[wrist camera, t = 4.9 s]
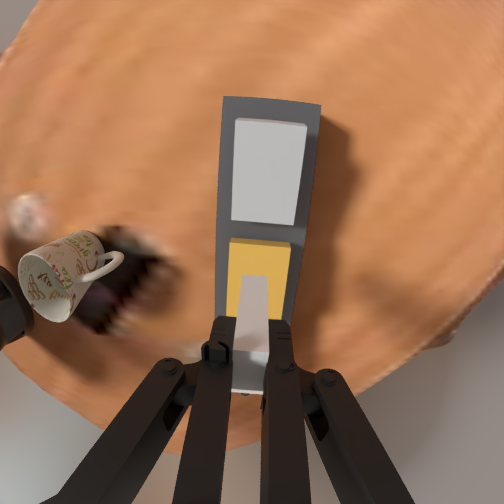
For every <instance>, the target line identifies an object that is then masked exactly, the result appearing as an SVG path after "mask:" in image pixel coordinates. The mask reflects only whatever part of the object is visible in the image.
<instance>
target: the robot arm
mask: <svg viewBox="0 0 504 504" xmlns="http://www.w3.org/2000/svg"><path fill="white" fill-rule="evenodd" d="M32 327H33V314H32V311H31V308H30V305H29V303H28V300H27V298H26V297H25V295H24V293H23V291H22V289H21V288H20V286H19V285H18V283H17V282H16V280H15V279H14V278H13V277H12V275H11V274H10V273H9V272H8V271H7V270H5V269H4V268H3V267H1V266H0V351H1V349H2V348H3V347H4V346H6V345H8V344H10V343H12V342H14V341H16V340H18V339H20V338H22V337H24V336H25V335H27V333H28V332H29V331H30V330H31V329H32ZM201 353H202V360H200V361H198V362H196V363H192V364H184V365H183V364H182V362H181V361H179V360H177V359H175V358H164V359H162V360H160V361H158V362H157V363H156V364H155V366H154V367H153V368H152V369H151V371H150V372H149V373H148V375H147V376H146V377H145V379H144V380H143V381H142V383H141V384H140V385H139V386H138V388H137V389H136V390H135V392H134V393H133V394H132V396H131V397H130V398H129V400H128V401H127V402H126V403H125V405H124V406H123V407H122V409H121V410H120V411H119V413H118V414H117V415H116V417H115V418H114V419H113V421H112V422H111V423H110V425H109V426H108V427H107V428H106V430H105V431H104V433H103V434H102V435H101V436H100V438H99V439H98V440H97V442H96V443H95V444H94V446H93V447H92V448H91V450H90V451H89V452H88V454H87V455H86V456H85V458H84V459H83V460H82V462H81V463H80V464H79V466H78V467H77V469H76V470H75V471H74V473H73V474H72V475H71V476H70V478H69V479H68V480H67V482H66V483H65V484H64V486H63V487H62V489H61V490H60V491H59V493H58V494H57V495H55V496H53V497H51V498H49V499H48V500H45V501H44V502H42V503H40V504H131V503H132V502H133V500H134V499H135V497H136V495H137V494H138V492H139V490H140V488H141V487H142V485H143V484H144V482H145V480H146V479H147V477H148V475H149V474H150V472H151V470H152V469H153V467H154V465H155V464H156V462H157V460H158V459H159V457H160V455H161V453H162V452H163V450H164V448H165V447H166V445H167V443H168V441H169V440H170V438H171V436H172V435H173V433H174V431H175V429H176V428H177V426H178V424H179V422H180V421H181V419H182V417H183V416H184V414H185V412H186V410H187V409H188V407H189V406H190V405H192V408H191V412H190V417H189V422H188V426H187V431H186V436H185V440H184V445H183V450H182V455H181V460H180V465H179V470H178V475H177V480H176V485H175V491H174V496H173V501H172V504H220V502H221V490H222V481H223V471H224V461H225V451H226V441H227V431H228V422H229V412H230V402H231V389H238V390H251V391H263V397H262V403H261V408H260V409H262V428H261V479H260V480H261V481H260V483H261V484H260V504H311V493H310V480H309V468H308V458H307V457H308V456H307V446H306V437H305V425H304V419H305V421H306V424H307V426H308V428H309V431H310V433H311V435H312V438H313V440H314V443H315V445H316V447H317V450H318V452H319V454H320V457H321V459H322V462H323V464H324V466H325V469H326V471H327V473H328V476H329V478H330V480H331V483H332V485H333V487H334V489H335V492H336V494H337V496H338V499H339V501H340V503H341V504H415V503H414V501H413V499H412V498H411V495H410V494H409V492H408V490H407V488H406V486H405V485H404V483H403V481H402V479H401V477H400V476H399V474H398V472H397V470H396V468H395V467H394V465H393V463H392V461H391V460H390V458H389V456H388V454H387V452H386V451H385V449H384V447H383V445H382V444H381V442H380V441H379V438H378V437H377V435H376V433H375V432H374V430H373V428H372V426H371V424H370V423H369V421H368V419H367V418H366V416H365V414H364V412H363V411H362V409H361V407H360V405H359V404H358V402H357V400H356V399H355V397H354V395H353V393H352V392H351V390H350V388H349V387H348V385H347V383H346V382H345V380H344V378H343V376H342V375H341V374H340V373H339V372H337V371H335V370H333V369H322V370H319V371H318V372H317V373H316V374H315V373H311V372H308V371H305V370H303V369H301V368H299V367H298V366H297V364H296V363H295V361H294V355H293V347H292V340H291V331H290V326H289V324H288V323H287V322H286V320H279V319H268V293H267V276H257V275H244V274H242V281H241V289H240V296H239V304H238V312H237V317H231V316H220V315H219V316H218V317H217V318H216V319H215V320H214V322H213V326H212V330H211V335H210V339H209V341H207V342H205V343H204V344H203V345H202V347H201Z"/></svg>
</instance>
